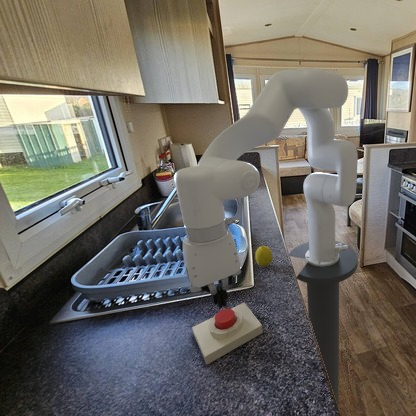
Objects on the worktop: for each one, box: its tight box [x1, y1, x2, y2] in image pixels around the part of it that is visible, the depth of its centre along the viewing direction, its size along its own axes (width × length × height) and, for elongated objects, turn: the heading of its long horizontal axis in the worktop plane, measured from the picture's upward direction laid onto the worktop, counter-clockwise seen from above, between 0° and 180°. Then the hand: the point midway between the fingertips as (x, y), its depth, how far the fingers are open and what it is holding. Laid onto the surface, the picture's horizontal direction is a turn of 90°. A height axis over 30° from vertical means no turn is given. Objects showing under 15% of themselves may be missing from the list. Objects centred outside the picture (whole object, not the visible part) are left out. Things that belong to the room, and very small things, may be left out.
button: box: [214, 308, 236, 330], centre depth 60 cm, size 4×4×2 cm
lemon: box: [254, 245, 274, 268], centre depth 86 cm, size 6×6×8 cm
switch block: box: [191, 302, 264, 365], centre depth 61 cm, size 13×10×4 cm
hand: (220, 303), depth 58 cm, fingers closed
